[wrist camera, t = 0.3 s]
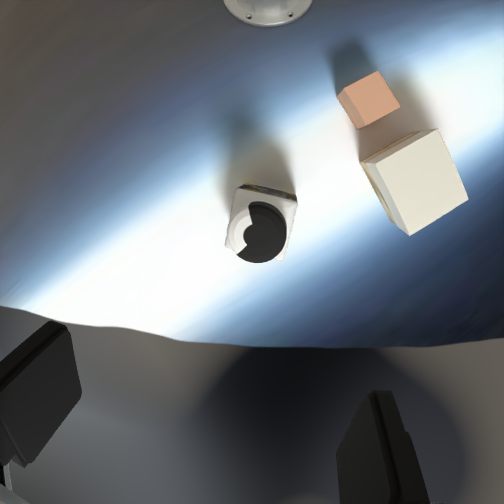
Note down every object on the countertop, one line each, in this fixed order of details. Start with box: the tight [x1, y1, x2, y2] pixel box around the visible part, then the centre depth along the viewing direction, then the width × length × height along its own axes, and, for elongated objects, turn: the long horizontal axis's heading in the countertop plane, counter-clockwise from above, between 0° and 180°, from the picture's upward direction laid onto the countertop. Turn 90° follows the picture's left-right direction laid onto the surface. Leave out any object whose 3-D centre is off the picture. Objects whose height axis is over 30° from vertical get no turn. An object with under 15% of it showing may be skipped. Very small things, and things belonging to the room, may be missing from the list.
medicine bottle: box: [225, 183, 298, 263], centre depth 38 cm, size 7×7×12 cm
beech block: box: [359, 131, 421, 225], centre depth 38 cm, size 9×9×4 cm
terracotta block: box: [337, 71, 400, 129], centre depth 35 cm, size 5×5×6 cm
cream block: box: [366, 129, 468, 235], centre depth 33 cm, size 9×9×4 cm
